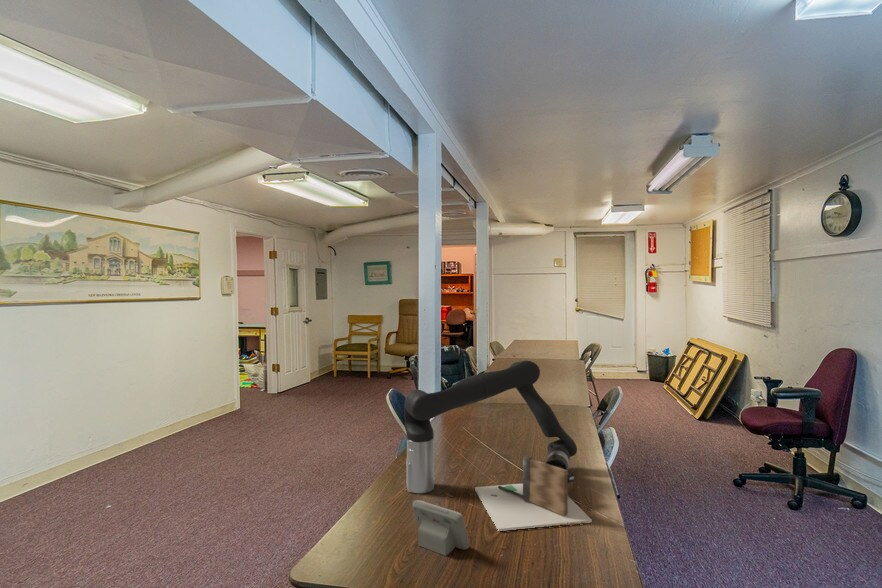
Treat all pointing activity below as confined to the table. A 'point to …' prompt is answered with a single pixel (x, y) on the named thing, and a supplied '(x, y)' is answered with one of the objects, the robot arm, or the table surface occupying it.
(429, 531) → the digital clock
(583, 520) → the thin white panel
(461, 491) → the table surface
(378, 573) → the table surface
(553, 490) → the wooden board with post
